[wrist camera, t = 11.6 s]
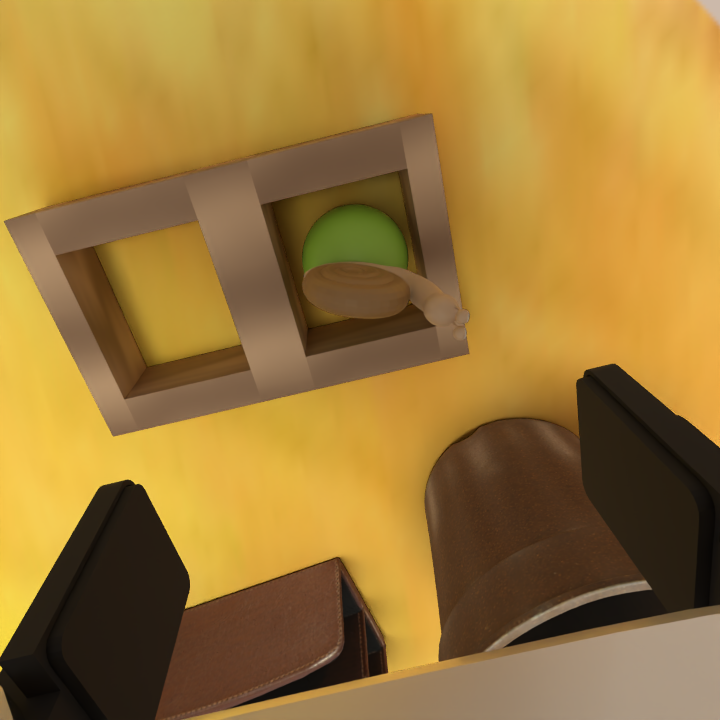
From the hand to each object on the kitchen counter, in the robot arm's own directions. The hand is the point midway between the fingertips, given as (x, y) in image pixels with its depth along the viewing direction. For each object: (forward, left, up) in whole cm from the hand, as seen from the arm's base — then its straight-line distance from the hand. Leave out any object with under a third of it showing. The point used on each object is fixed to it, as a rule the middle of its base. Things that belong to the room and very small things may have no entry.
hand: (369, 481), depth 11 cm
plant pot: (+19, +8, -21) cm, 29 cm away
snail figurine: (0, +1, -21) cm, 21 cm away
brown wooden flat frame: (0, -4, -21) cm, 21 cm away
